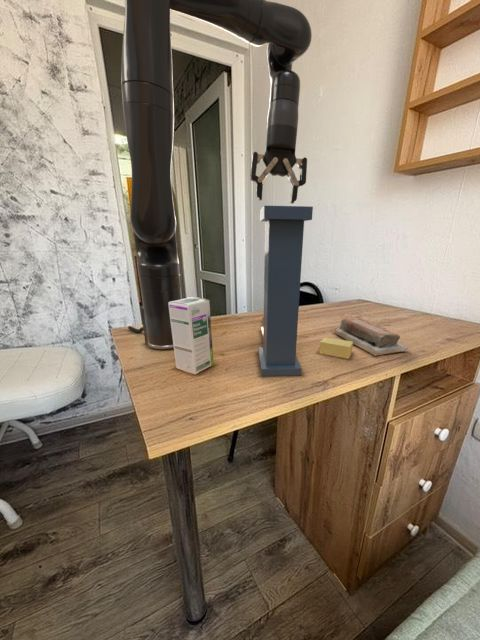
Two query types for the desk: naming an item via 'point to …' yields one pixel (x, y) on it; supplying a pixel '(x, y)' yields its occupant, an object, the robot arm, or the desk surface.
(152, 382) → the desk surface
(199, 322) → the syrup box
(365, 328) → the plastering float
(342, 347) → the butter block
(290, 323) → the square pillar stand
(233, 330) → the desk surface
